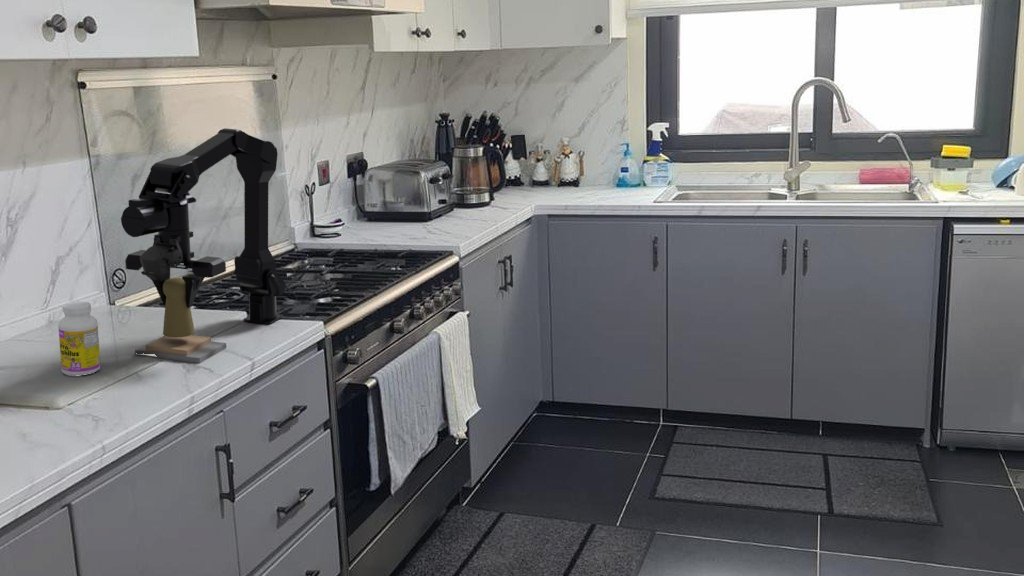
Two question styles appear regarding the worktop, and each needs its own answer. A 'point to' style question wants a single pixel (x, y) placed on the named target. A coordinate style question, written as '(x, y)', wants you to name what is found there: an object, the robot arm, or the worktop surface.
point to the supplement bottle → (79, 340)
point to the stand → (183, 348)
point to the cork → (176, 310)
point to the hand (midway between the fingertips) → (177, 306)
